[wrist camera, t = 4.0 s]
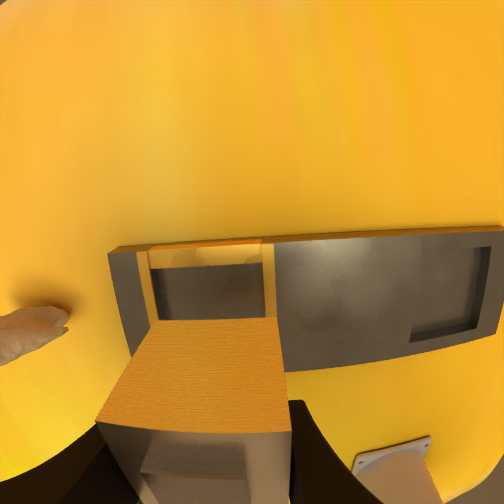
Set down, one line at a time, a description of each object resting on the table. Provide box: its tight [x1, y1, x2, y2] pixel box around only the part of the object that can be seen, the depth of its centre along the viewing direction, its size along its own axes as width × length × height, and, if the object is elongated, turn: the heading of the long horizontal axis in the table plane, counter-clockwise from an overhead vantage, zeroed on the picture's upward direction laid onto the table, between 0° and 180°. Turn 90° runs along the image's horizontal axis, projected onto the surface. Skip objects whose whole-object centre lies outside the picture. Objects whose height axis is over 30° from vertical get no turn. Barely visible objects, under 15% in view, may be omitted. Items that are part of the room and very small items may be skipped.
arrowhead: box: [0, 306, 69, 366], centre depth 14 cm, size 8×3×10 cm, turn 94°
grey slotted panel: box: [108, 226, 504, 372], centre depth 17 cm, size 8×26×2 cm, turn 94°
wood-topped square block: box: [95, 317, 292, 504], centre depth 9 cm, size 4×4×6 cm
